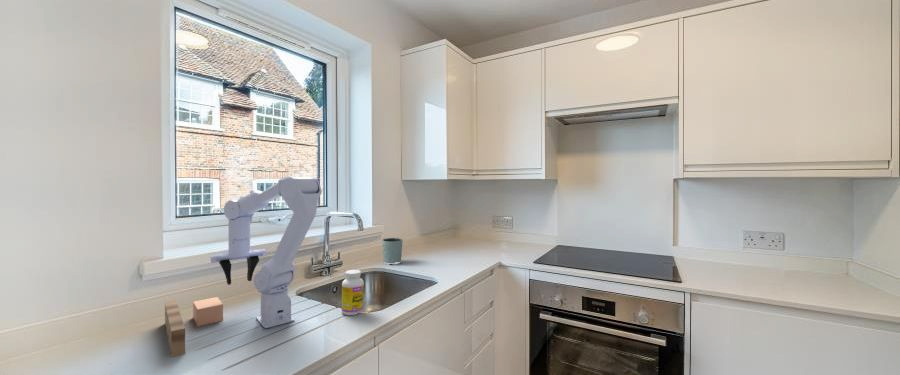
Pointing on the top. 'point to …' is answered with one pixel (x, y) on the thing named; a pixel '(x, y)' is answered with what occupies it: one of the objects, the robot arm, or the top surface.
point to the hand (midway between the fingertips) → (239, 282)
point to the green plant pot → (392, 249)
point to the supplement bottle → (352, 293)
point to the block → (207, 311)
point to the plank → (174, 329)
